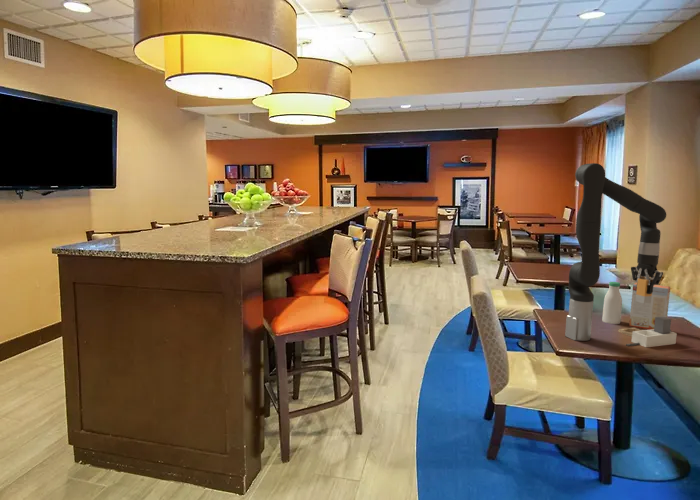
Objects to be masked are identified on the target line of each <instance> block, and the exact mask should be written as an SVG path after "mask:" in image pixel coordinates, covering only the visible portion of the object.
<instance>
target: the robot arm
mask: <svg viewBox="0 0 700 500" xmlns="http://www.w3.org/2000/svg"><path fill="white" fill-rule="evenodd" d="M574 177H575V180H576V181H577V182H578V184H580V185H581V186H583V195H582V201H581V204H580V206H579V209H578V212H577V215H576V220H575V234H576V239H577V242H578V245H579V248H580V252H581V261H577V262H575V263H573V264H572V265H571V267H570V269H569V271H568V272H569V273H568V293H569V303H568V305H569V306H568V315H566V320H565V331H564V332H565V334H564V336H565V337H567V338H569V339H571V340H573V341H581V342H582V341H583V342H584V341H590V340H591V335H592V334H591V333H592V321H593V312H594V311H593V310H594V299H595V295H594V293H593V291H592V290H591V287H593V286H594V285H596V284H597V283H598V281H599V279H600V273H601V272H600V271H601V267H600V237H601V236H600V235H601V233H600V232H601V224H602V223H601V221H602V217H601V216H602V202H603V201H602V200H603V195H604V196H607V197H608V198H609V199H611V200H612V201H615V202H616V203H618V204H619V205H620V206H622V207H623V208H625V209H627V210H628V211H631V212H632V213H636V214H638V215H639V218H638V220H639V228H640V239H639V245H638V250H637V259H636V260H637V261H636V262H637V265H636V266H631V267H630V270H631V276H632V281H635V283H638V278H639V279H641V278H646V280H648V281H647V283H648V285H647V292H646V293H647V294H651V293H652V292H653V286H654V285H659V284H660V282H661V279H662V277H663V276H664V272H663V271H660V270H658V267H657V266H658V265H659V259H660V251H661V249H660V244H661V234H662V233H661V230H660V229H659V228H658V227H657V224H661V223H662V222H664V221H665V220H666V218H667V211H666V210H665V209H664V207H662V206H661V205H659V204H657V203H655V202H652V201H651V200H648V199H646V198H644V196H642V195H640V194H638V193H637V192H635V191H634V190H632V189H630V188H628V187H626V186H623V185H621V184H619V183H616V182H615V181H613V180H611V179H609V178H607V177H606V170H605V168H604V166H603V165H601V164H599V163H597V162H596V163H595V162H593V163H584V164H582V165H580V166H579V167H577V169H576V170H575V174H574ZM636 289H637V287H636Z"/></svg>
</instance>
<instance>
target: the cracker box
mask: <svg viewBox="0 0 700 500" xmlns="http://www.w3.org/2000/svg"><path fill="white" fill-rule="evenodd" d="M636 287H637V282H634V283H633V284H632V292H631V293H632V294H631V301H630V304H631V305H630V315H629V325H628V326H629V327H632V328H637V329H639V328H640V329H642V330H651V329H654V325H655V317H661V316H663V317H666V318H668V315H669V314H668V312H669V303H670V295H671V294H670V292H671V286H667V285H659V284H658V285H654V286H653V292H652V297H651V303H640V302H637V301H636V292H637V289H636Z"/></svg>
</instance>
